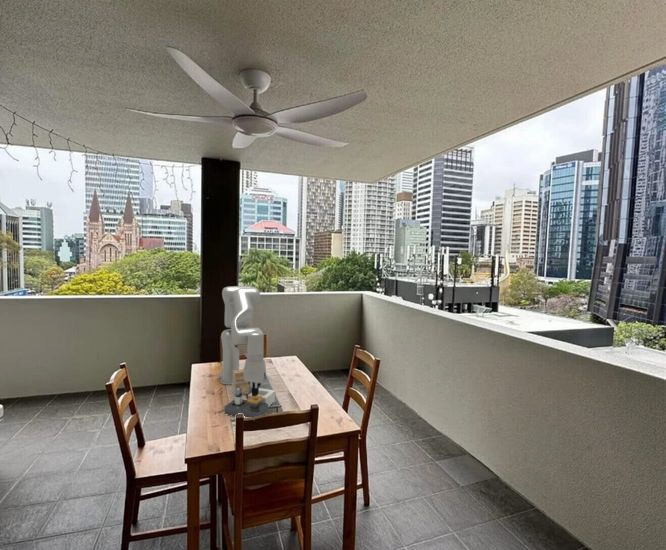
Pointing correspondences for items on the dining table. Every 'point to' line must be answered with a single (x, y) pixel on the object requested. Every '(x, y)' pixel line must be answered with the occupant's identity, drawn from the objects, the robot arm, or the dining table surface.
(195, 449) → the dining table surface
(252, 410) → the socket block
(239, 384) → the supplement box
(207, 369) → the dining table surface
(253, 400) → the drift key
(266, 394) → the white square bin
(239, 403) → the drill bit
